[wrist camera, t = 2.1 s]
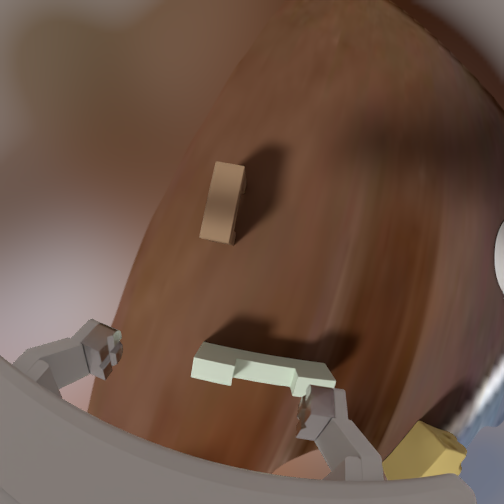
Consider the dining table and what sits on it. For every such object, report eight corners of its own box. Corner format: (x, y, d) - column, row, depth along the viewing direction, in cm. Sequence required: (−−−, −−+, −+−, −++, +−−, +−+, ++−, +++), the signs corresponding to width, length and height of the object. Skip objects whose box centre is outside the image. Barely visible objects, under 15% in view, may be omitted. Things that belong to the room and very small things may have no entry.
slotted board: (203, 341, 36) (194, 357, 30) (324, 363, 36) (336, 381, 30) (200, 359, 36) (190, 376, 30) (319, 379, 36) (330, 399, 29)
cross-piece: (223, 178, 36) (216, 161, 29) (246, 182, 36) (244, 166, 29) (209, 240, 36) (199, 237, 29) (233, 245, 36) (228, 243, 29)
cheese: (449, 430, 35) (477, 456, 25) (411, 473, 35) (433, 503, 25) (417, 416, 35) (447, 446, 25) (376, 464, 35) (397, 499, 25)
